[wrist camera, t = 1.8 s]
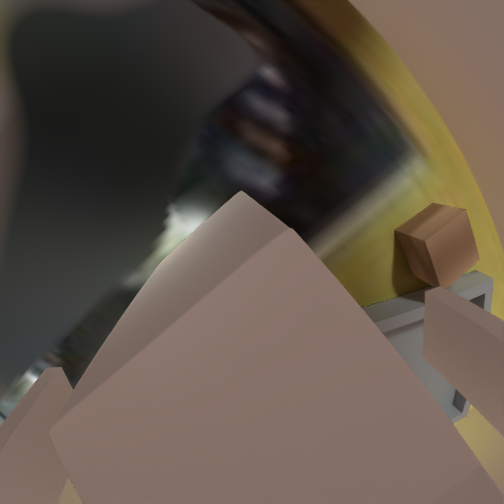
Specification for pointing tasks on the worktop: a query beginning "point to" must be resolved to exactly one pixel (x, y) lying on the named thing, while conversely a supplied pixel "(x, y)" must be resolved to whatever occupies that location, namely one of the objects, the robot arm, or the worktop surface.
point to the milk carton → (257, 388)
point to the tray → (412, 333)
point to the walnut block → (438, 244)
